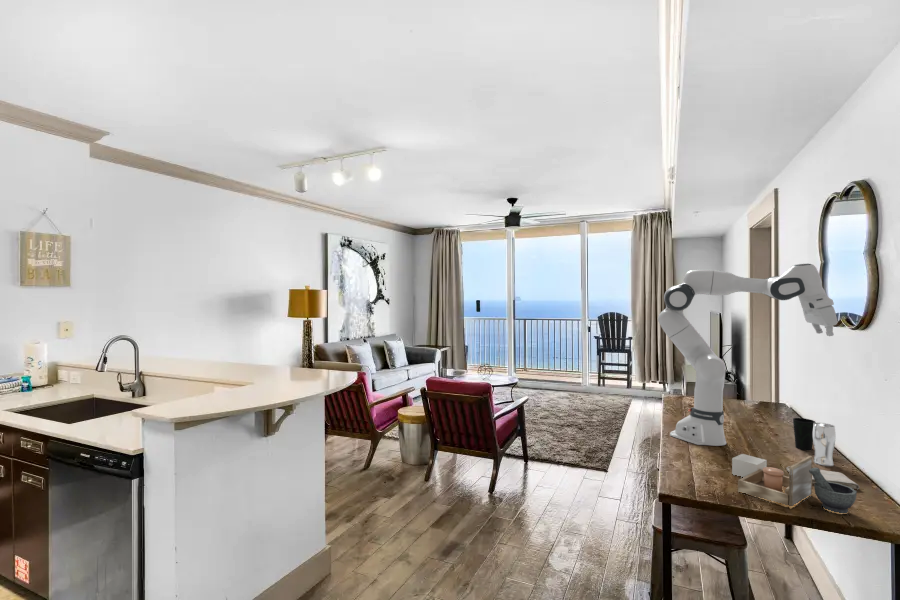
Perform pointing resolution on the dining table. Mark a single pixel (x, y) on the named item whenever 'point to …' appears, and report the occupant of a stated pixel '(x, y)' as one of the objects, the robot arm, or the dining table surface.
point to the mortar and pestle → (833, 493)
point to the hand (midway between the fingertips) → (825, 334)
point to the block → (747, 465)
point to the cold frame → (795, 483)
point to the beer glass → (823, 443)
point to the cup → (803, 433)
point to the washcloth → (836, 478)
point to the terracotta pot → (773, 478)
